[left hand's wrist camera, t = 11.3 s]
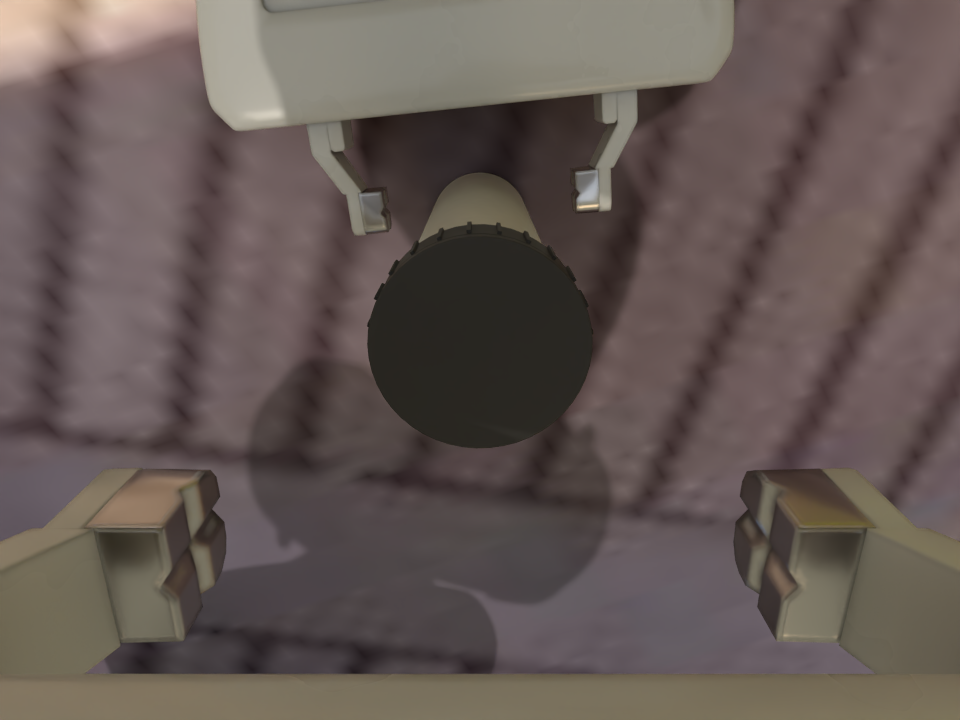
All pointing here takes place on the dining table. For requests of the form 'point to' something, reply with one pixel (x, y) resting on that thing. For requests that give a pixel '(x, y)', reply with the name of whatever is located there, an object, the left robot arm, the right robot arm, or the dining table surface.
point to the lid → (479, 336)
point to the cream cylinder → (479, 205)
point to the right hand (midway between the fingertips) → (481, 221)
